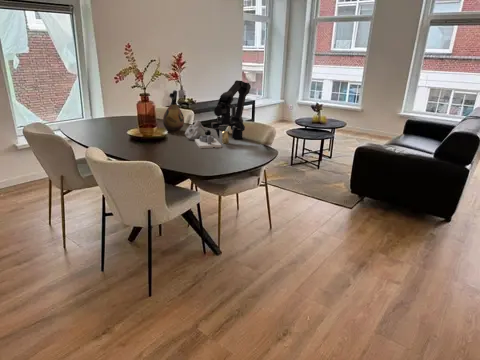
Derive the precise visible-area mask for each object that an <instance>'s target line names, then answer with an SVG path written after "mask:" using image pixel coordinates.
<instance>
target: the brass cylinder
mask: <svg viewBox="0 0 480 360" xmlns="http://www.w3.org/2000/svg"><path fill="white" fill-rule="evenodd" d="M221 134H222V135H221V144H222V143H223V144H222V145H229V144H228V143H230V131H228V130H223V131H222V132H221Z"/></svg>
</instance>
